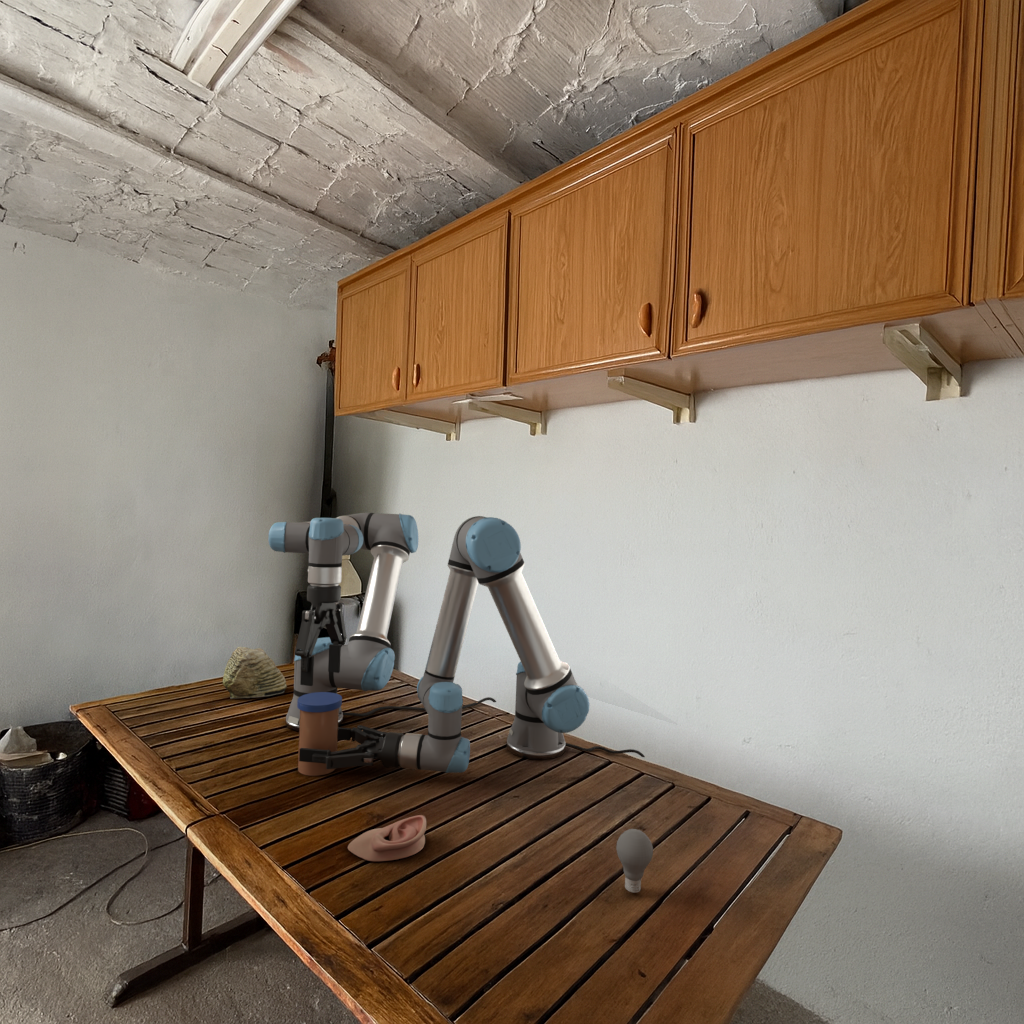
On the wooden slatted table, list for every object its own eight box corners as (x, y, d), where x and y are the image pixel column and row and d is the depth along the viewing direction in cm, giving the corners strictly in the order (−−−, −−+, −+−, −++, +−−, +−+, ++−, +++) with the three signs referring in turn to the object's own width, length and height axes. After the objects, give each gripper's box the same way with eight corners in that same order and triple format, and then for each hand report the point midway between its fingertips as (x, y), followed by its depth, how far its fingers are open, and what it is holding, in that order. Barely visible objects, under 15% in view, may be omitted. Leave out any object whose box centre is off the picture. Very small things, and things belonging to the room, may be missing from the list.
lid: (319, 715, 141) (319, 708, 141) (287, 706, 146) (288, 699, 146) (350, 703, 149) (351, 697, 149) (320, 695, 154) (320, 689, 154)
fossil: (218, 695, 195) (220, 647, 195) (278, 685, 208) (279, 640, 207) (228, 703, 189) (230, 653, 188) (289, 692, 201) (290, 645, 201)
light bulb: (610, 879, 108) (613, 822, 108) (644, 879, 109) (647, 822, 109) (619, 902, 102) (622, 840, 102) (655, 901, 103) (658, 840, 103)
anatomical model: (340, 834, 112) (368, 804, 123) (339, 856, 112) (367, 824, 123) (411, 845, 109) (433, 813, 120) (410, 868, 109) (432, 834, 120)
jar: (316, 779, 142) (319, 709, 142) (289, 769, 146) (292, 701, 146) (344, 765, 149) (347, 699, 149) (317, 757, 154) (320, 692, 153)
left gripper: (336, 577, 159) (332, 664, 160) (279, 589, 137) (275, 690, 137) (363, 579, 157) (359, 667, 158) (310, 592, 135) (306, 694, 135)
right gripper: (384, 791, 133) (287, 782, 135) (415, 745, 157) (332, 739, 160) (386, 755, 132) (289, 747, 135) (416, 715, 157) (333, 709, 159)
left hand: (320, 678), depth 147 cm, fingers open, 11 cm apart
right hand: (312, 742), depth 147 cm, fingers open, 13 cm apart
